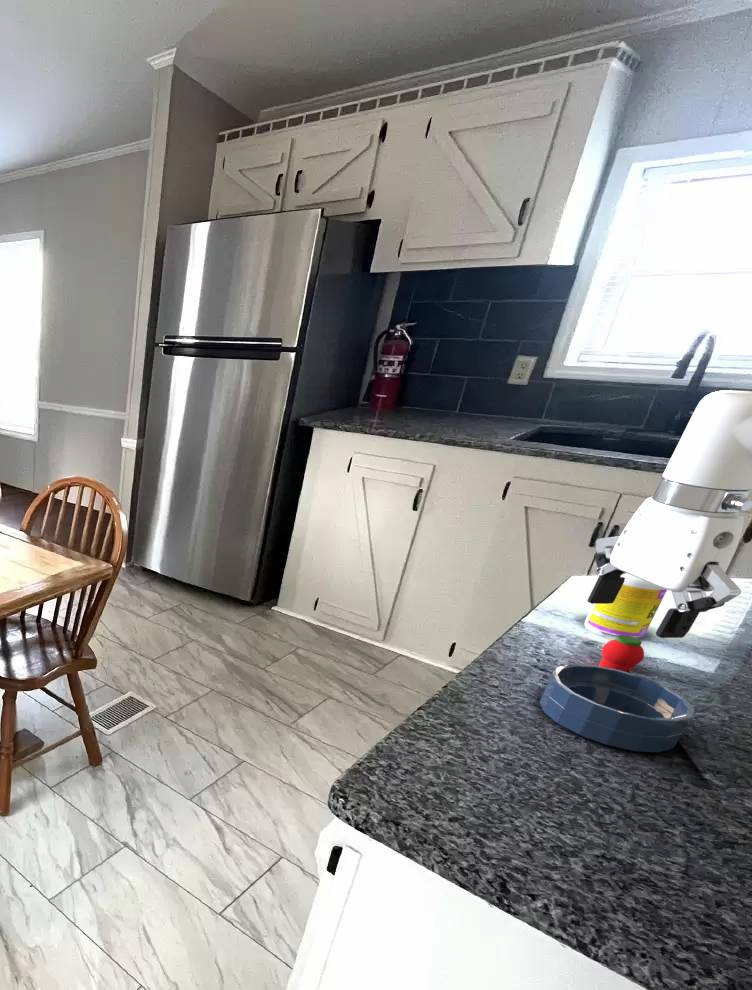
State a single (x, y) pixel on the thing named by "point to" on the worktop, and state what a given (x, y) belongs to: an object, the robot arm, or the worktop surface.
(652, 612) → the supplement bottle
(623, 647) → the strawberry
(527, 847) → the worktop surface
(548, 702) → the bowl
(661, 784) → the worktop surface
